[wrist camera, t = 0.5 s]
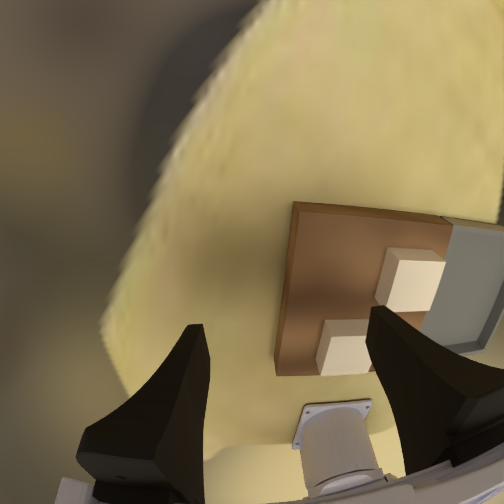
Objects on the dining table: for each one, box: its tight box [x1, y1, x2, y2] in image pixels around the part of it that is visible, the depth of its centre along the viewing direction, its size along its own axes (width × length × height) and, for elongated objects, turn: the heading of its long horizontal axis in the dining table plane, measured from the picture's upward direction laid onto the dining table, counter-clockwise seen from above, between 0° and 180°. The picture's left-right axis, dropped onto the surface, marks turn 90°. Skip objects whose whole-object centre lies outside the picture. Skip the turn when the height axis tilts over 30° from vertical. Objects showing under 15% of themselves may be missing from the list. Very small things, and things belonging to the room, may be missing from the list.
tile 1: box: [375, 247, 446, 312], centre depth 20 cm, size 4×4×2 cm
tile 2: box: [316, 319, 372, 376], centre depth 22 cm, size 4×4×2 cm
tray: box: [419, 216, 504, 356], centre depth 24 cm, size 14×12×2 cm
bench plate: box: [274, 201, 453, 376], centre depth 23 cm, size 14×12×2 cm
